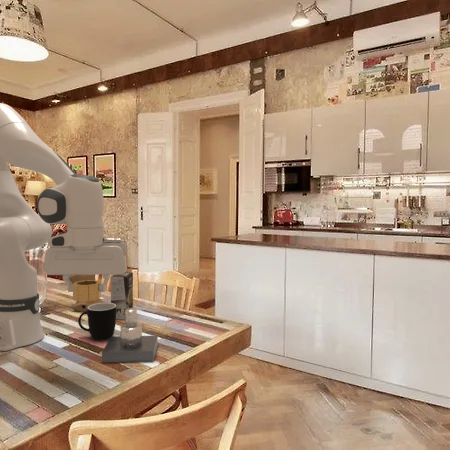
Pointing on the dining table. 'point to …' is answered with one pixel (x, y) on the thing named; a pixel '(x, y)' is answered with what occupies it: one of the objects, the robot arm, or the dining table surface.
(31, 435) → the dining table surface
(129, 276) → the coffee box
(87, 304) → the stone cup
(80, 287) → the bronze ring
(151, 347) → the grey plate with knob
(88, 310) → the mug
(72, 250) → the robot arm
